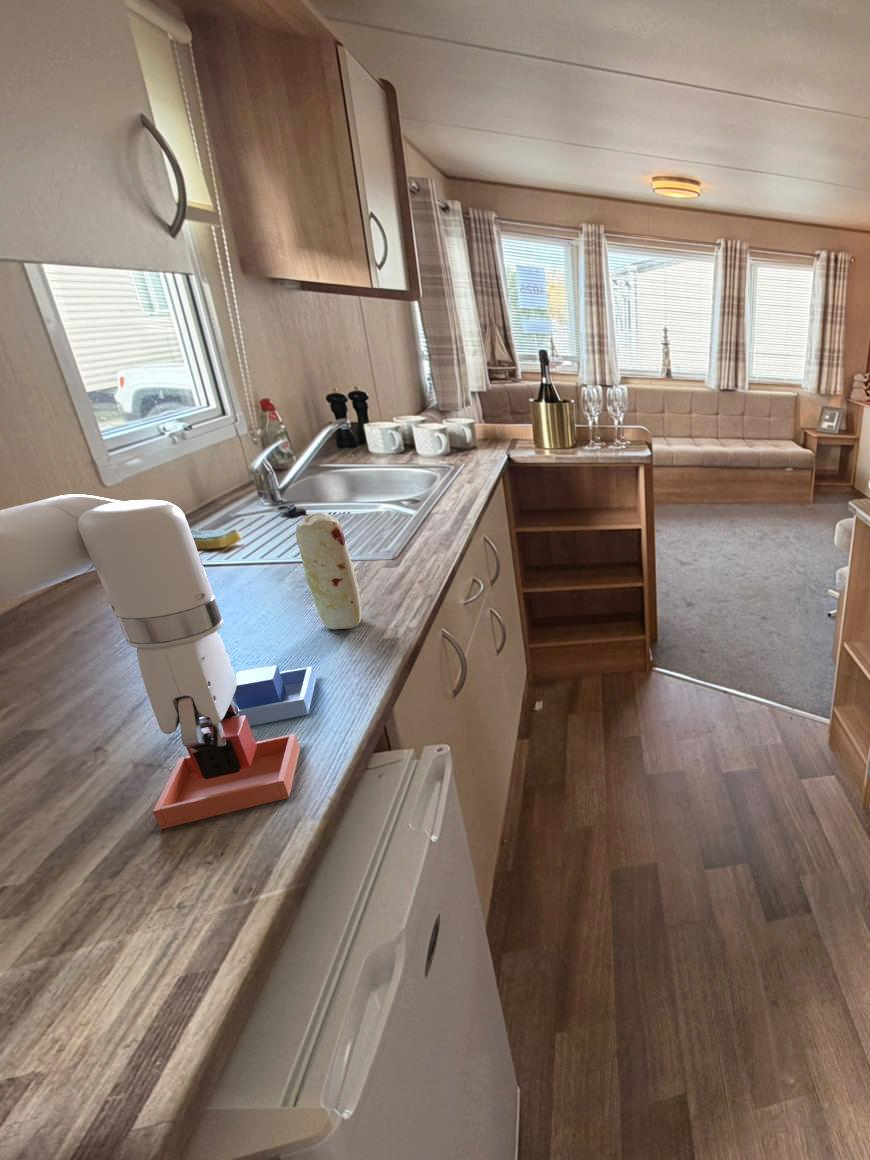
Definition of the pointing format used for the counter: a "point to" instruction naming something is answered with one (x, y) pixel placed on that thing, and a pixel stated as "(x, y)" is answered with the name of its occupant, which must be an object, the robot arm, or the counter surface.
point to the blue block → (259, 687)
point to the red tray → (229, 785)
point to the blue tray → (294, 702)
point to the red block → (234, 741)
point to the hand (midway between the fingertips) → (227, 759)
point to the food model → (329, 571)
